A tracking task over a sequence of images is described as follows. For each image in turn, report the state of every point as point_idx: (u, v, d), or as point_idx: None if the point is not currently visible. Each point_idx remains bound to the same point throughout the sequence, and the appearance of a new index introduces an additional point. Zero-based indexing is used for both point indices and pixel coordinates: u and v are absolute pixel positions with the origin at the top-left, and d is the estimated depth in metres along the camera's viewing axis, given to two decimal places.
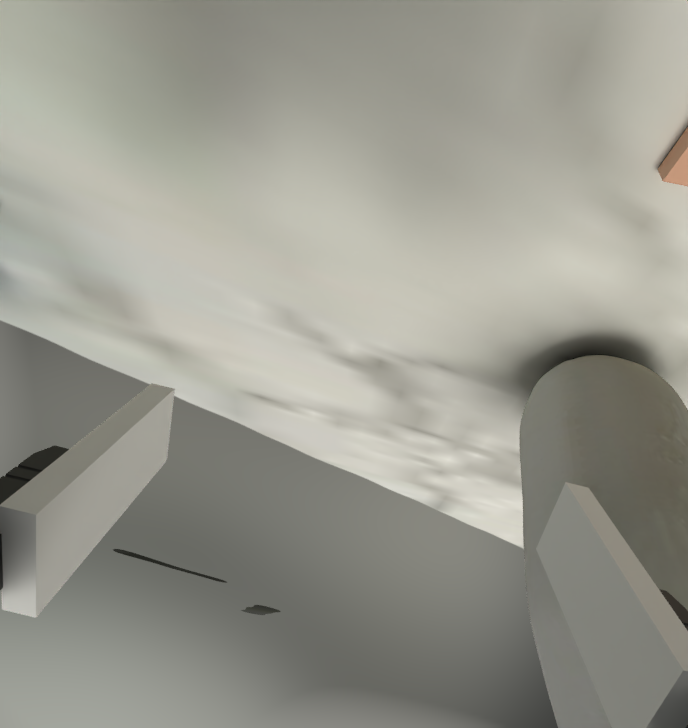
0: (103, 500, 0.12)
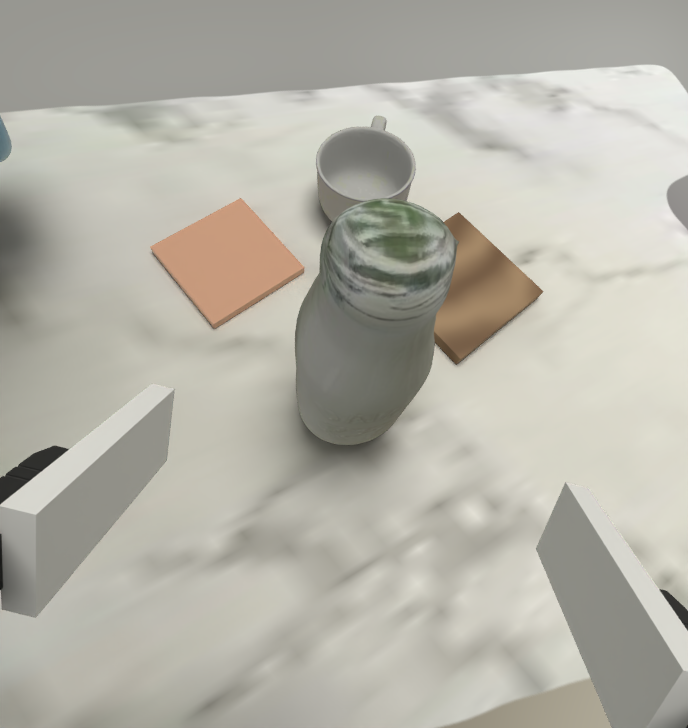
0: (103, 500, 0.12)
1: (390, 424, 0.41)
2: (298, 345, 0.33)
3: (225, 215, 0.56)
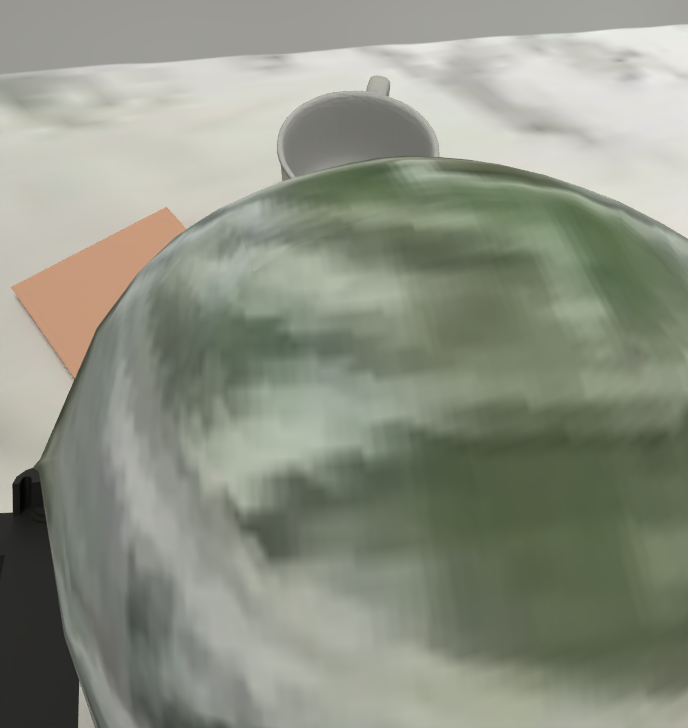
0: None
1: None
2: None
3: (139, 235, 0.35)
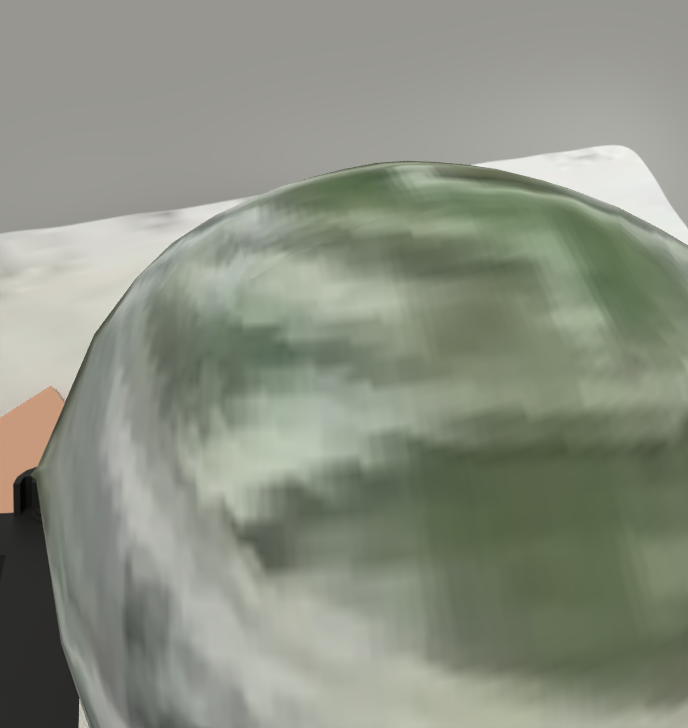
0: None
1: None
2: None
3: (24, 416, 0.41)
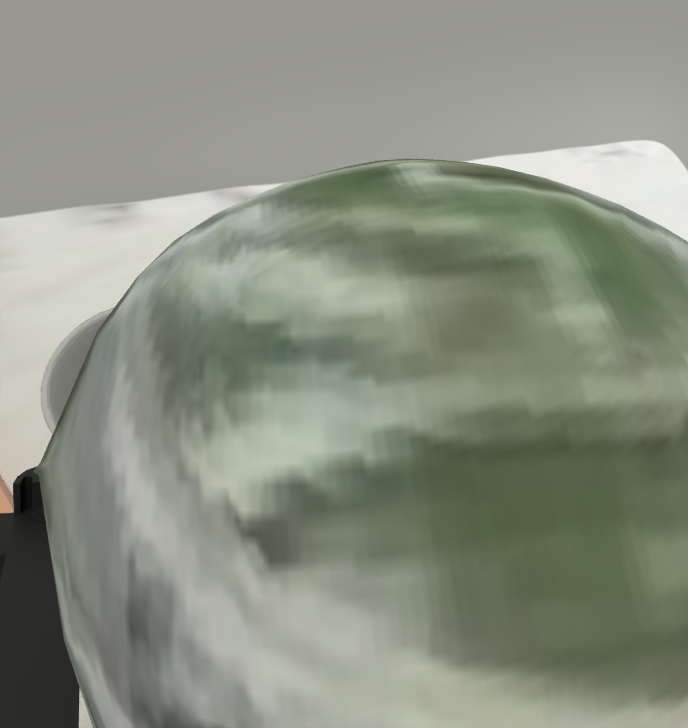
0: None
1: None
2: None
3: None
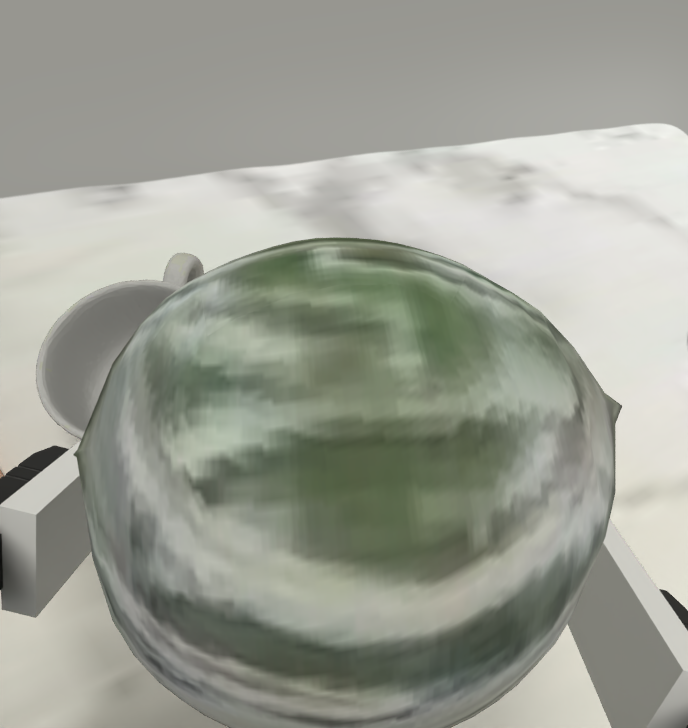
0: None
1: None
2: None
3: None
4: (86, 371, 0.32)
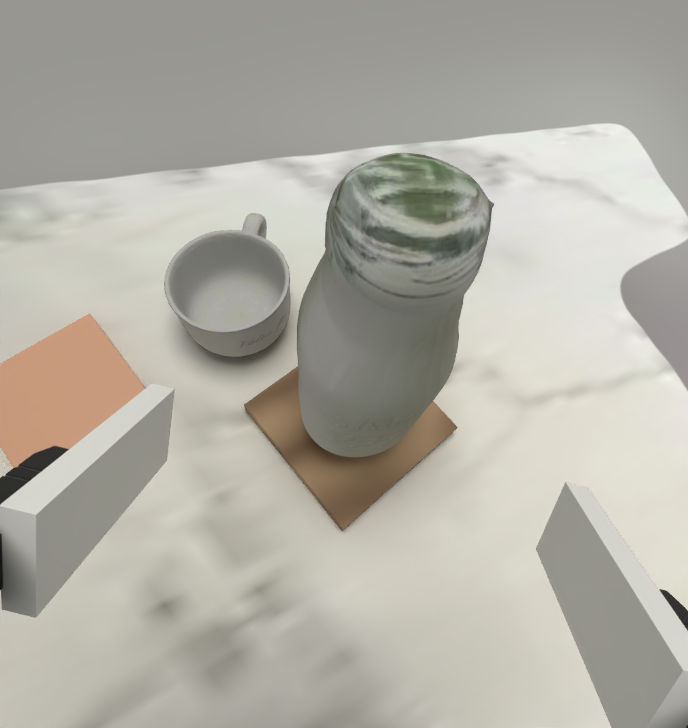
0: (103, 500, 0.12)
1: (405, 433, 0.36)
2: (300, 338, 0.29)
3: (66, 338, 0.46)
4: (186, 295, 0.46)
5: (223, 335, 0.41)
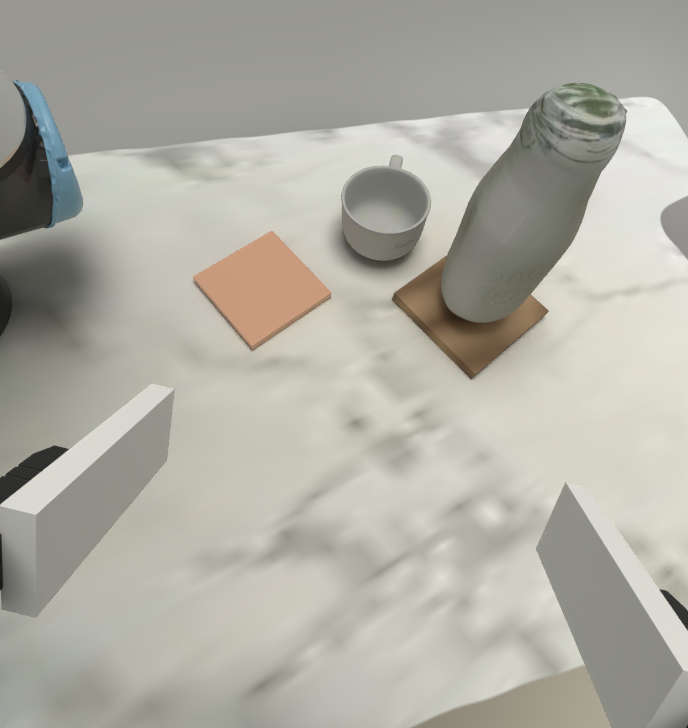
0: (103, 500, 0.12)
1: (528, 295, 0.52)
2: (479, 214, 0.45)
3: (258, 247, 0.62)
4: None
5: (387, 237, 0.57)
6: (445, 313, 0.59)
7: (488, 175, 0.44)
